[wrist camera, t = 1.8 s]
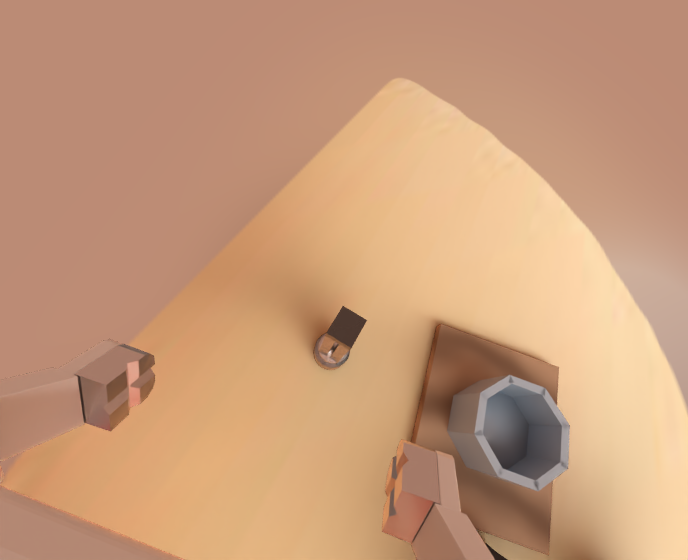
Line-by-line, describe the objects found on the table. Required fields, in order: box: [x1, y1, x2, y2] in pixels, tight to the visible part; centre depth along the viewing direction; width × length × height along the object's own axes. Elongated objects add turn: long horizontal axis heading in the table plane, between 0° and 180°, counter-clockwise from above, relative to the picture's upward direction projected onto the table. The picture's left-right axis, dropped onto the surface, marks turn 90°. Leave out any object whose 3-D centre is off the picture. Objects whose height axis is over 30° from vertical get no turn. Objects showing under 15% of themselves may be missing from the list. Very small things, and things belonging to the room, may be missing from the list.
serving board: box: [411, 324, 559, 555], centre depth 38 cm, size 20×16×2 cm
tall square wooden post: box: [314, 306, 367, 370], centre depth 34 cm, size 4×4×13 cm
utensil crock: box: [447, 375, 570, 491], centre depth 35 cm, size 10×10×6 cm
